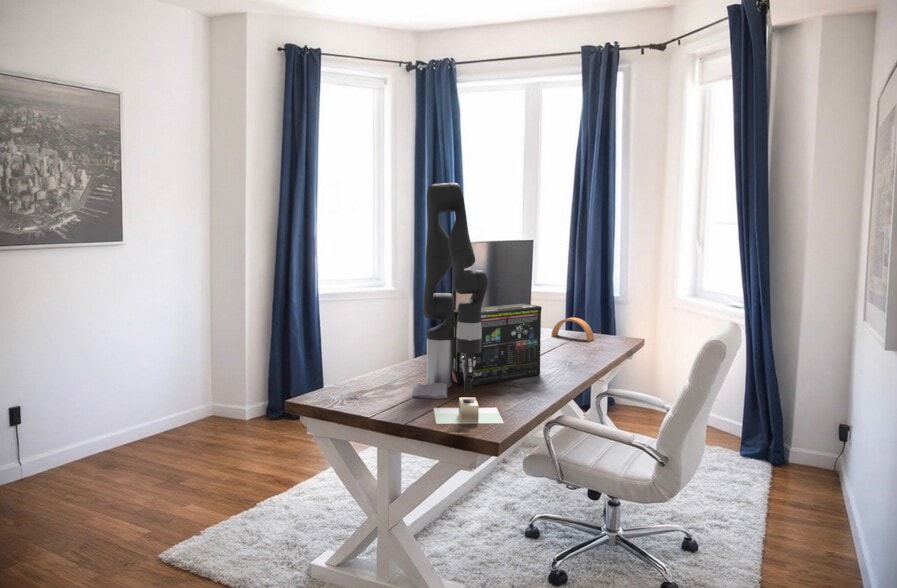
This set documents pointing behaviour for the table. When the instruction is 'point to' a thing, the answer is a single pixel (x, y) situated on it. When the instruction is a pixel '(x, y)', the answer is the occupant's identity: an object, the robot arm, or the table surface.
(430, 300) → the robot arm
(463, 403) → the birch block
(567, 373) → the table surface
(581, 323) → the arch
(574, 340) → the table surface
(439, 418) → the board
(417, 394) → the stone block
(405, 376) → the table surface
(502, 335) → the router box
